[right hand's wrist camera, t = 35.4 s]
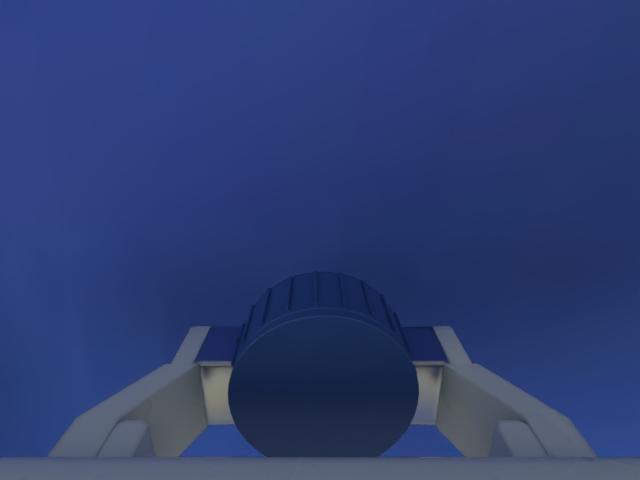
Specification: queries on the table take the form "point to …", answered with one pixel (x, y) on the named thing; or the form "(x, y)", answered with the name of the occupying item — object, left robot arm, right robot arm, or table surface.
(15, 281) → the table surface
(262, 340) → the cap
